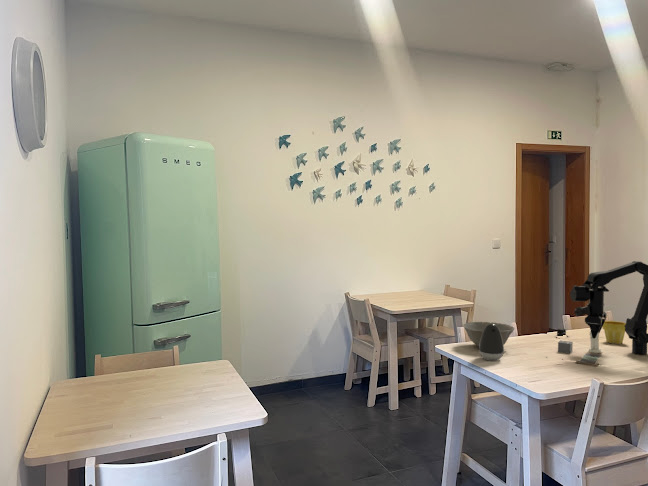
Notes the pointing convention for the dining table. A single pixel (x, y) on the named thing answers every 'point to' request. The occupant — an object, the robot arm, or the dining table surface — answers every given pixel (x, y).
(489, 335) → the dark grey egg shape
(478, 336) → the ceramic bowl
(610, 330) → the plant pot
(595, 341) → the pawn
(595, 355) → the board
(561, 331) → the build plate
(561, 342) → the grey cube
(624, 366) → the dining table surface
